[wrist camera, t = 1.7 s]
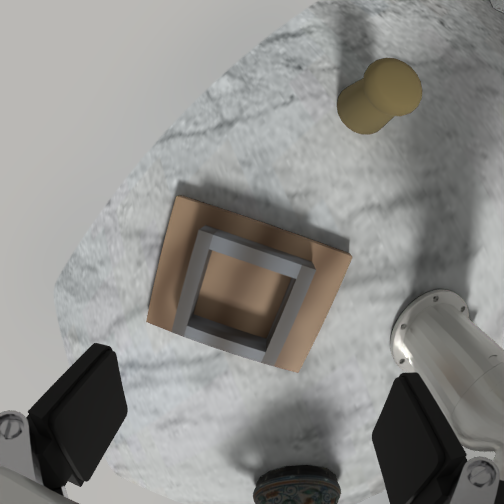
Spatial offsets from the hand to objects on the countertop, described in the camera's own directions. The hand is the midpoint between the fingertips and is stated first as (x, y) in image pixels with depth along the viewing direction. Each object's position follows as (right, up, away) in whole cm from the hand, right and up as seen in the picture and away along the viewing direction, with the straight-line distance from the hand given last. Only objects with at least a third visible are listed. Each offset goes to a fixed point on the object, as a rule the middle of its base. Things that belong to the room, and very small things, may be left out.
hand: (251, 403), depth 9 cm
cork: (+12, +21, +20) cm, 31 cm away
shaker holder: (-1, +1, +26) cm, 26 cm away
